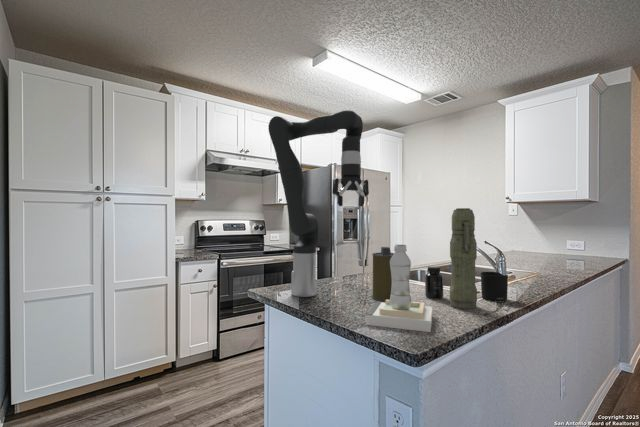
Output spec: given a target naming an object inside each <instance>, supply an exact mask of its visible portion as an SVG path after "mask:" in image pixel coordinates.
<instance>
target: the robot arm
mask: <svg viewBox="0 0 640 427" xmlns="http://www.w3.org/2000/svg"><path fill="white" fill-rule="evenodd" d="M363 124H364V123H363V118H362V117H361V116H360V115H359V114H358V113H356V112H355V111H353V110H350V109H349V110H346V109H345V110H340V111H339V112H335V113H333V114H326V115H319V116H315V117H313V118H310V119H308V120H306V121H301V122H297V121H291V120H288V119H287V118H285V117H283V116H279V115H275V116H273V117H271V119H270V120H269V123H268V134H269V136H270V140H271V142H272V145H273V148H274V152H275V156H276V160H277V164H278V170H279V174H280V178H281V179H280V180H281V183H282V187H283V192H284V196H285V201H286V206H287V207H286V208H287V215H288V224H289V228H290V231H291V232H292V233H293V234H294V236H297V237H298V239H297V242H296V243H295V244H294V246H293V252H292V253H293V255H292V256H293V259H292V260H293V261H292V262H293V265H292V266H293V269H292V271H291V279H290V280H291V283H290V285H291V287H290V288H291V291H290V292H291V296H294V297H301V298H308V297H314V296H316V294H317V292H316V291H317V287H316V286H317V284H316V282H317V271H316V270H317V263H316V262H317V252H316V251H317V247H318V244H319V222H318V219H317V217H316V216H315V215H314V214H312V213H306V211H305V206H304V202H303V195H304V191H305V190H304V189H305V176H304V172H303V168H302V165H301V163H300V162H299V159H298V158H297V156H296V154H295V153H294V151H293V149H292V147H291V144H290V141H294V140H296V139H301V138H303V137H308V136H315V135H326V134H333V133H337V132H338V130H345V131H346V132H345V137H343V138H342V140H341V159H340V171H341V172H340V175H341V176H340V178H334V179H333V180H332V195H334V196H336V198H337V200H336V201H337V206H339V207H342V206H343V204H344V202H343V197H344V196H343V195H344V193H345V192H346V191H351V192H353V191H355V193H357V195H358V207H363V206H364V205H365V197H366V196H369V194H370V189H369V180H368V179H361V176H362V172H361V171H362V170H361V168H362V167H361V166H362V164H361V163H362V156H361V139H362V134H363V127H364V125H363ZM339 184H341V187H340V188H339ZM361 186H362V187H361Z"/></svg>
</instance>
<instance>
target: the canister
mask: <svg viewBox="0 0 640 427" xmlns="http://www.w3.org/2000/svg"><path fill="white" fill-rule="evenodd" d="M394 253H395V252H392V251H391V247H390V246H381V248H380V252H373V253H372V254H371V255H372V296H371V297H372V299H373V300H375V301H380V302H385V300H390V295H391V287H392V278H391V268H390V259H391V257H392V256H393V254H394Z"/></svg>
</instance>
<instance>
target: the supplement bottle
mask: <svg viewBox="0 0 640 427" xmlns="http://www.w3.org/2000/svg"><path fill="white" fill-rule="evenodd" d="M424 285H425V286H424V289H425V290H424V292H425V298H426V299H430V300H441V299H443V298H444V275H443V274H441V267H440V266H427V273H426V274H425V276H424Z"/></svg>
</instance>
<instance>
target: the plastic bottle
mask: <svg viewBox="0 0 640 427" xmlns="http://www.w3.org/2000/svg"><path fill="white" fill-rule="evenodd" d="M393 251H394V252H393V253H394V254H393V256H392V257H391V259H390V268H391V278H392V287H391V295H390V306H391V307H392V309H395V310H405V311H406V310H409V309H410V307H411V302H412V297H411V291H410V275H411V274H410V273H411V266H412V262H411V259H410V257H409V255H408V254H407V251H408V250H407V244H394V249H393Z"/></svg>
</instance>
